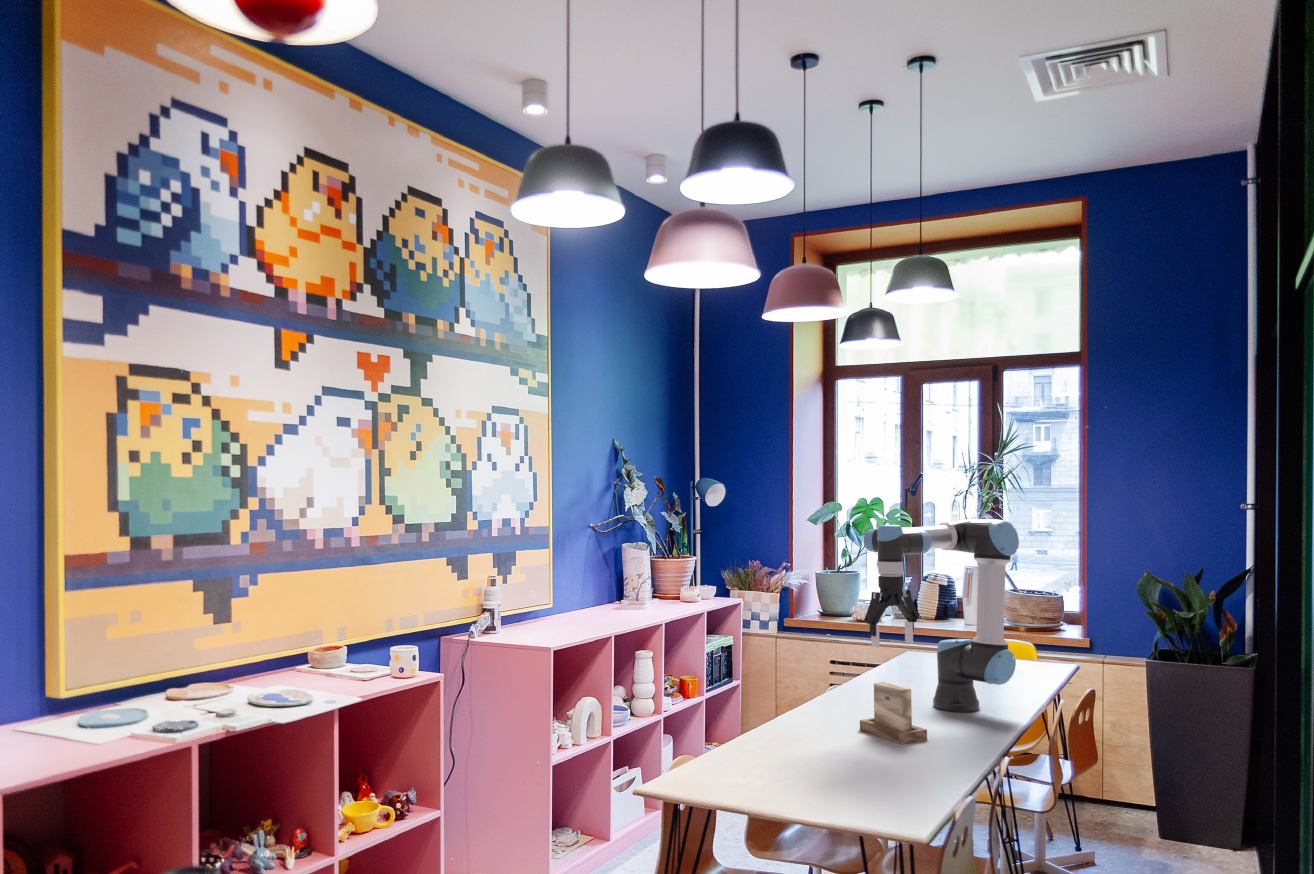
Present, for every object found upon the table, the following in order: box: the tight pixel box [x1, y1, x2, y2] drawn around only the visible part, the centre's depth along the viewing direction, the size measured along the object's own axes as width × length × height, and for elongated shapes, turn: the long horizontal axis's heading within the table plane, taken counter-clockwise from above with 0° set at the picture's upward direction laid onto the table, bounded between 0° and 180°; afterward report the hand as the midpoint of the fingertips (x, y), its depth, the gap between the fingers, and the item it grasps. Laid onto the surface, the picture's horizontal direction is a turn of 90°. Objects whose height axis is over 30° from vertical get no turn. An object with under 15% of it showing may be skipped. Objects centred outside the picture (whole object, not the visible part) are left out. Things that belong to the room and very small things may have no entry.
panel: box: [873, 681, 913, 732], centre depth 278 cm, size 4×12×14 cm, turn 28°
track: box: [859, 717, 928, 745], centre depth 277 cm, size 10×18×3 cm, turn 28°
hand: (892, 644), depth 280 cm, fingers open, 13 cm apart
